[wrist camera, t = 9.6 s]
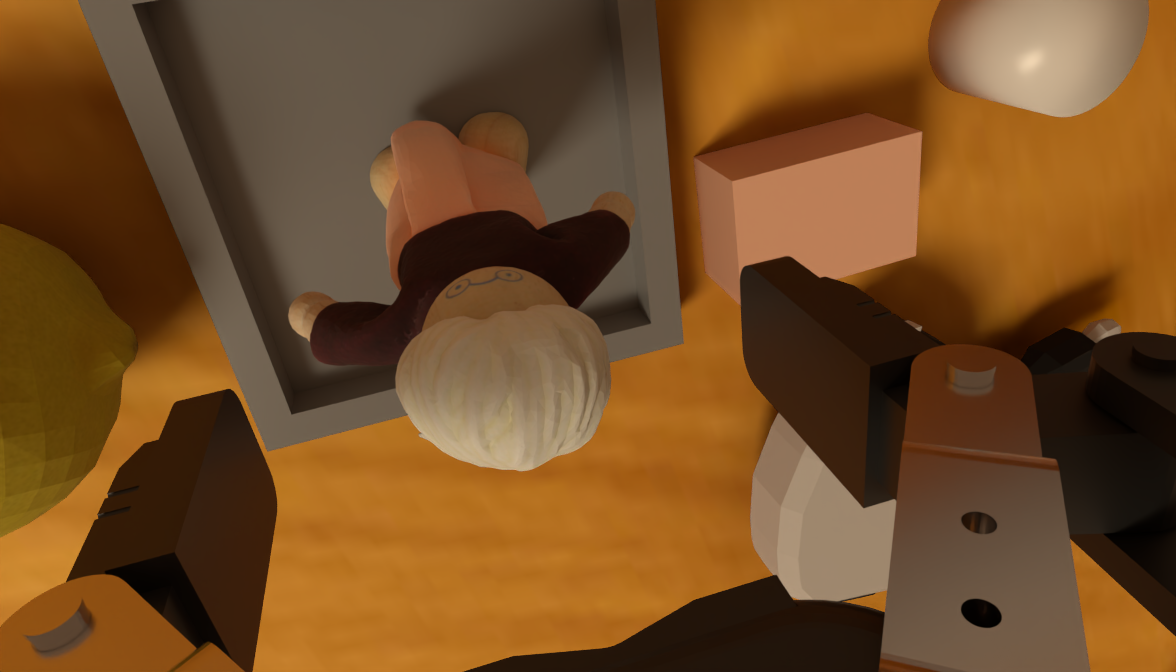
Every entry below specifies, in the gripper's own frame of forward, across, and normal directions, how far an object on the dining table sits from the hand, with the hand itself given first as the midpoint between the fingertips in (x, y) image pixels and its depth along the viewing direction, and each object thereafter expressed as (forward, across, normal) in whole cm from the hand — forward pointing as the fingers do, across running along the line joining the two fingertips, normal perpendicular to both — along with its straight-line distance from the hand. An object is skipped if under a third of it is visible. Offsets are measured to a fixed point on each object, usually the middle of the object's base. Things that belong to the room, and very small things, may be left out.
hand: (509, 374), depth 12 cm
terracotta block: (+12, -11, +3) cm, 16 cm away
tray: (+12, 0, 0) cm, 12 cm away
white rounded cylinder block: (+12, -18, -1) cm, 21 cm away
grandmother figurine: (+11, 0, 0) cm, 11 cm away
